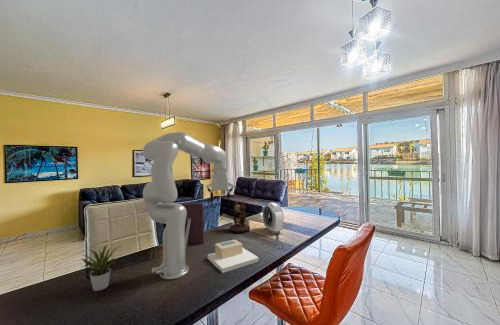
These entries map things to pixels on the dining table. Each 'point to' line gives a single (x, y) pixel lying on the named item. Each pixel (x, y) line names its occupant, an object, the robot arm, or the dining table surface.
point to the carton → (228, 249)
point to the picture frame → (194, 223)
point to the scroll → (239, 219)
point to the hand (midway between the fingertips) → (220, 199)
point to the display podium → (233, 261)
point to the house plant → (100, 269)
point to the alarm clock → (273, 218)
